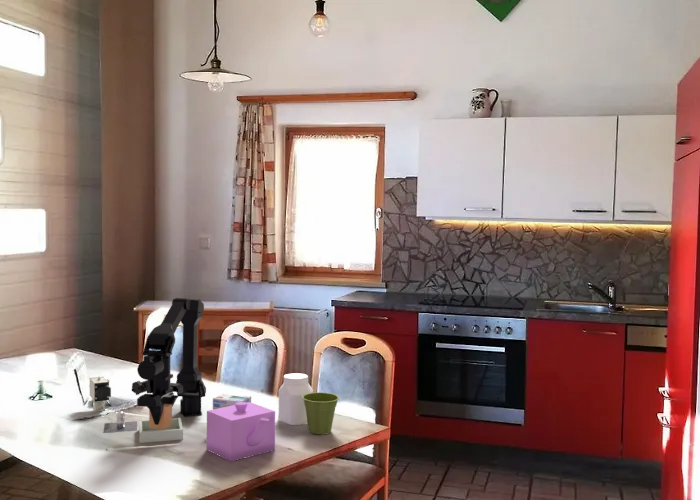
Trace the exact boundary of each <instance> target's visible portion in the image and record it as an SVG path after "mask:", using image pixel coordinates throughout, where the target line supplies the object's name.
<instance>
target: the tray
mask: <svg viewBox="0 0 700 500" xmlns="http://www.w3.org/2000/svg"><path fill="white" fill-rule="evenodd" d="M138 424H139V431H138V432H139V443H151V442H152V443H153V442H167V441H179V440H180V441H181V440H184V428H183V427H184V426H183V423H182V418H181V417H172V425H171V426H169V427H168V428H166V429H164V430H163V429H152V428H149V419H142V420H139V423H138Z"/></svg>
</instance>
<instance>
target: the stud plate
mask: <svg viewBox="0 0 700 500" xmlns="http://www.w3.org/2000/svg"><path fill="white" fill-rule="evenodd" d="M115 418H116V422H105V423H104V427H103V431H102V433H104V434H105V433H117V432H118V433H121V432H135V431H138V421H136V420H134V421H133V420H132V421H125V420H126V419H125V418H126V414H125V412H124V411H121V410H120V411H118V412H117V413H116V417H115Z"/></svg>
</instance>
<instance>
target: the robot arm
mask: <svg viewBox="0 0 700 500" xmlns="http://www.w3.org/2000/svg"><path fill="white" fill-rule="evenodd" d="M204 311H205V305H204V303H203V302H202V301H201V299H200V298H187V297H175V298H173V299H172V301H171V306H170V308H169V309H168V311H167V312H166V315H165V317H163V320H162V321H161V323H160V324H159V325H157V326H155V327H154V328H153V329H152V330H151V332H149V334H148V335H147V338H146V341H145V344H144V348H143V351H142V356H143V360H142V361H141V362H140V363H139V364H138V366H137V374H138V377H140V378H141V379H142V380H143V381H140V380H138V381H135V382H134V381H133V382H132V384H131V385H132V386H131V391H132V392H133V394H135V396H139V395H140V394H142V395H140V396H139V397H137V398H136V406H138V407H145V408H147V409H148V411H149V410H150V412H151V415H152V418H153V421H154V424H155V425H158V424H159V421H160V418H161V415H162V411H163V408H164V405H165V404H172V408H173V407H174V406H175V405H174V404H175V403H176V400H177V399H178V397H181V399H180V400H179V403H180V405H179V411H180V414H181V415H182V416H183V417H186V416H187V417H189V416H202V415H203V412H202V398H203V397H204V398H205V397H206V394H207V393H206V392H207V387H206V385H205V383H204V381H203V379H202V376H203V375H202V372H201V371H200V369H199V368H198V325H199V322H200V321H201V320H202V318H203V314H204V313H203V312H204ZM180 323H181V325H182V367H181V369H180V371H179V372H178V373H177V375H176V382H171V379H173V378H174V374H173V373H171V355H173V349H174V346H175V344H176V337H175V332H176V331H177V329H178V327H179V326H180ZM145 392H146V393H145ZM174 392H175V393H176V394H175V393H174ZM143 393H144V394H143Z"/></svg>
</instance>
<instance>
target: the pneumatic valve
mask: <svg viewBox="0 0 700 500" xmlns="http://www.w3.org/2000/svg"><path fill="white" fill-rule="evenodd" d="M89 396H90V398H91V399H92V400H93V402H92V403H93V412H95V413H96V412H105V411H106V402H105V401H109V400H110V398H111V396H112V387H110V379H109V378H105V377H104V376H98V377H89Z"/></svg>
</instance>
